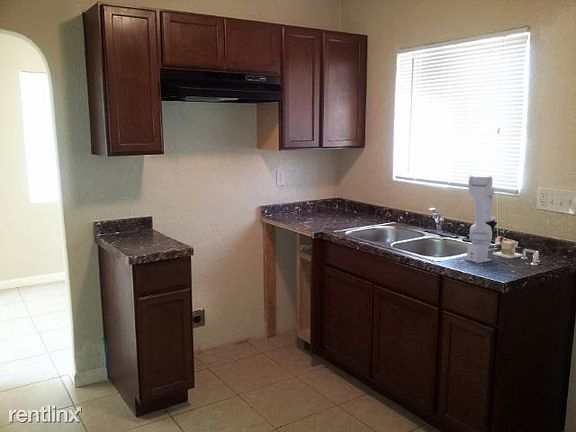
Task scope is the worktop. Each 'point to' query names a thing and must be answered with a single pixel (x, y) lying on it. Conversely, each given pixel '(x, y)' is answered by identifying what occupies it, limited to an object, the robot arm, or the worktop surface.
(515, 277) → the worktop surface
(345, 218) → the worktop surface
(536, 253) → the grey white arch
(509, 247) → the maple block
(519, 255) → the cream pad
